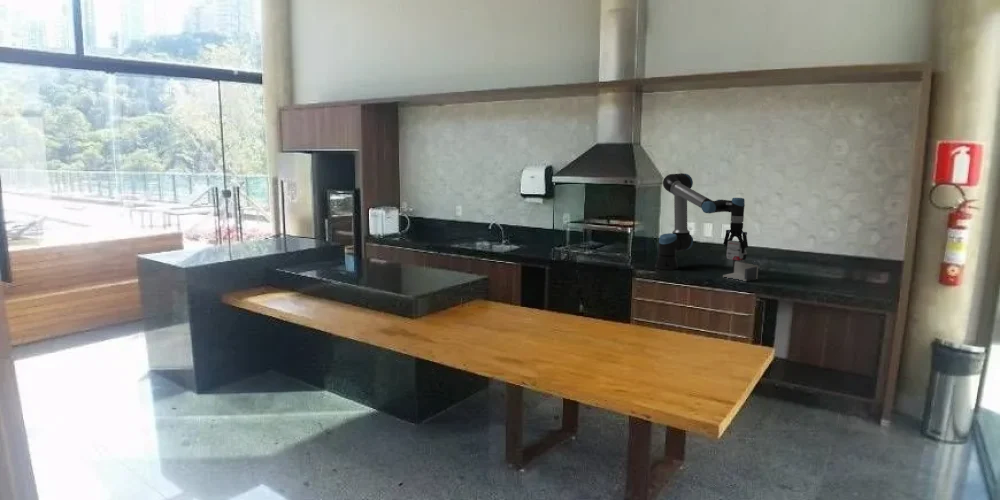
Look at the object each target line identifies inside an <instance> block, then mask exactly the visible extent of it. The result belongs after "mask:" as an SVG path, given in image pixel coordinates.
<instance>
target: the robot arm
mask: <svg viewBox="0 0 1000 500" xmlns="http://www.w3.org/2000/svg"><path fill="white" fill-rule="evenodd" d="M693 185H694V182H693V178H692V177H691V175H690V174H688V173H681V172H680V173H670V174H667V175H666V176H665V177H664V178H663V181H662V186H663V188H664V189H665V191H668V193H670V194H672V195H673V197H674V199H673V201H674V204H673V205H674V208H673V209H674V213H673V214H674V230H672V233H669V232H668V233H663V234H661V235H660V236H659V239H658V256H657V259H656V262H655V265H654V267H655V268H656V269H659V270H667V271H671V270H672V271H673V270H678V269H679V264H678V261H677V260H678V259H677V256H676V255H677V252H684V251H688V250H689V249H691V248H692V247H693V244H694V237H693V236H692V235H691V234H690V231H689V230H688V202H690V203H691V204H693V205H695V206H696V207H699V208H700V209H701V211H702V212H703V213H705V214H713V213H723V212H725V213H730V223H729V224H730V229H726V230H725V236H724V239H723V242H722V243H723V245H724V246H725V251H726V252H727V245H728V241H734V240H733V239H734V238H735V237H736V238H737V239H738V240H737V241H739V242H740V243H741V244H740V245H741V248H740V257H739V258H740V259H741V258H743V253H744V252H745V250H746V248H748V247H749V246H748V237H747V235H748V232H747V231H743V229H744V219H745V218H744V217H745V215H744V214H745V206H746V205H745V203H746V202H745V201H746V200H745V198H743V197H733V198H731V200H728V199H716V200H712V199H710V198H709V197H707V196H705V195H703V194H701V193H700V192H697V191H696V190H694V189H692V187H693ZM725 255H726V257H727V253H726V254H725Z"/></svg>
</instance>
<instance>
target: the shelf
mask: <svg viewBox="0 0 1000 500" xmlns="http://www.w3.org/2000/svg"><path fill="white" fill-rule="evenodd" d="M724 277H727V278H726V279H728V278H733V279H739V280H743V281H748V282H751V281H750V280H752V281H756V279H757V280H758V277H759V265H758V264H752V263H748V262H745V263H742V262H737V261H735V264H734V272H731V273H726V274H722V278H724ZM733 279H732V280H733Z"/></svg>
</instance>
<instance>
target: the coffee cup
mask: <svg viewBox="0 0 1000 500" xmlns="http://www.w3.org/2000/svg"><path fill="white" fill-rule="evenodd" d="M747 255H748V252H747V250H746V249H745V252H744V253H743V258H742V260H739V261H738V260H732V273H734V264H735V261H737V262H742V263H746V259H747Z"/></svg>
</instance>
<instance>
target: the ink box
mask: <svg viewBox="0 0 1000 500" xmlns="http://www.w3.org/2000/svg"><path fill="white" fill-rule="evenodd" d="M740 244H741V243H740V242H739V240H732V241H728V245H727V251H726V254H727V256H726V259H727V260H732V261H733V260H738V261H739V260H742V258H741V259H740V258H739V257H740V248H741V245H740Z"/></svg>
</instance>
